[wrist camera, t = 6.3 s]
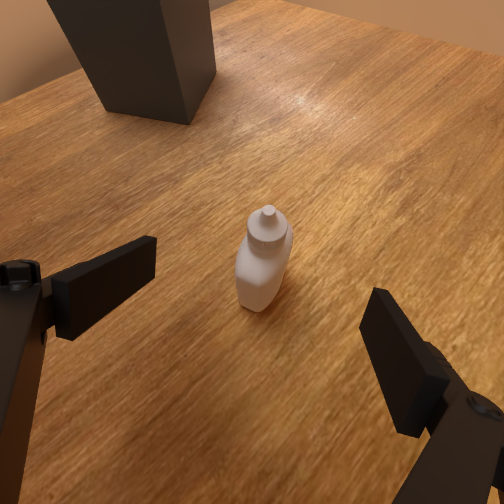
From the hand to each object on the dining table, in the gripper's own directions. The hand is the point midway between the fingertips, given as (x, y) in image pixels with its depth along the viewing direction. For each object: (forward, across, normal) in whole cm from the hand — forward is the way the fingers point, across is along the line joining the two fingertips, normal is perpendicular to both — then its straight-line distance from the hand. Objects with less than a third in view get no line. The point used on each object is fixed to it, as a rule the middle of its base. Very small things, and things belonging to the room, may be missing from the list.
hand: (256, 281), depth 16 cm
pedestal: (+26, +20, -14) cm, 36 cm away
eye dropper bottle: (+8, 0, +4) cm, 9 cm away
